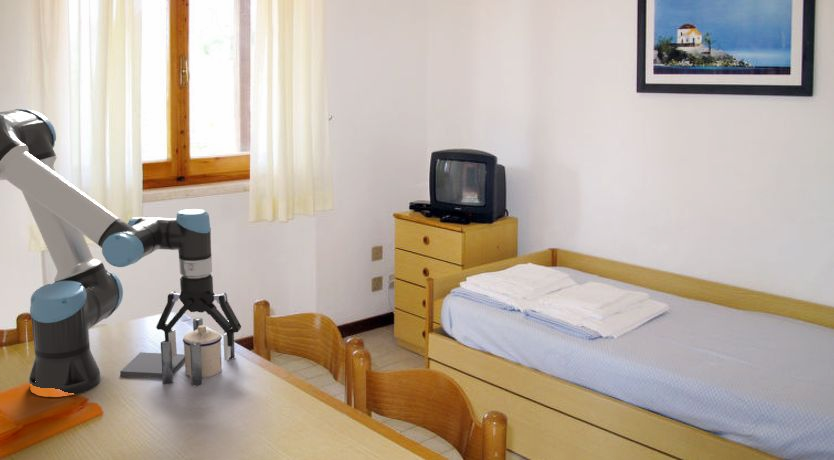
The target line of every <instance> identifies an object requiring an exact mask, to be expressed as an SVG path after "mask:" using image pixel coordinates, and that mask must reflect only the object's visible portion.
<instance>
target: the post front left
mask: <svg viewBox="0 0 834 460" xmlns="http://www.w3.org/2000/svg"><path fill="white" fill-rule="evenodd" d="M160 353H161V361H162V378H161V379H162V384H163V385H171V384H173V383H174V374H173V366H172V346H171V341H165V340H163V341H160Z"/></svg>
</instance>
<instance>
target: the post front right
mask: <svg viewBox="0 0 834 460" xmlns="http://www.w3.org/2000/svg"><path fill="white" fill-rule="evenodd" d="M190 356H191V376H190V377H191V386H194V387H198V386H201V385H202V384H203V378H202V364H201V343H200V342H193V343H190Z"/></svg>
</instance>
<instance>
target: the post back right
mask: <svg viewBox="0 0 834 460" xmlns="http://www.w3.org/2000/svg"><path fill="white" fill-rule="evenodd" d="M225 319H226V320H227V321H228V319H227V318H225ZM228 322H229V321H228ZM223 333H224V334H225V333H226V332H225V331H224V330H223ZM224 334H223V335H224ZM230 349H231V357H230V358H229V359H228V360H233V359H232V358H234V357H235V356H236V354H235V343H234V344H233V345H232V346H230ZM235 358H236V357H235ZM235 358H234V359H235Z"/></svg>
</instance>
